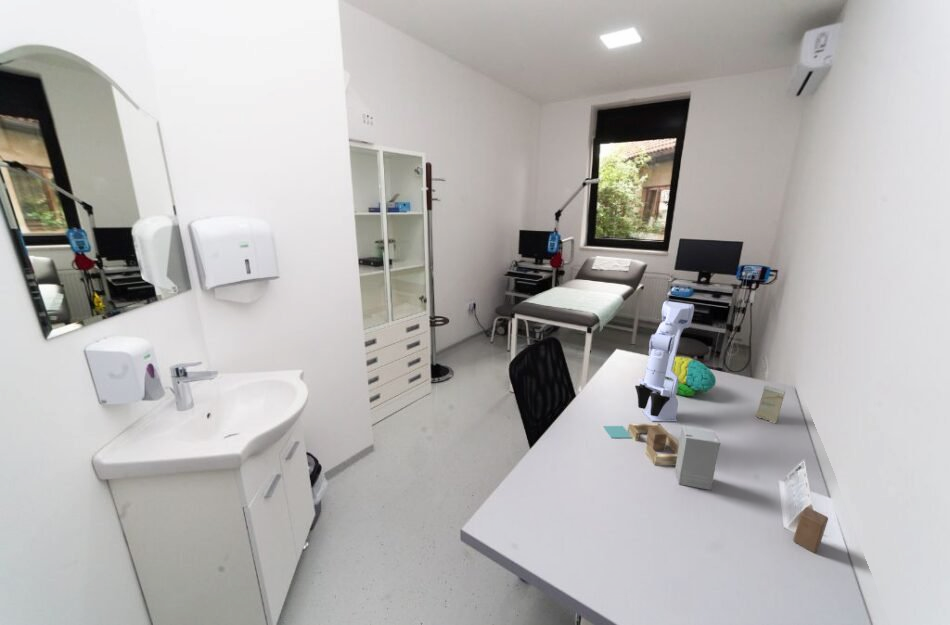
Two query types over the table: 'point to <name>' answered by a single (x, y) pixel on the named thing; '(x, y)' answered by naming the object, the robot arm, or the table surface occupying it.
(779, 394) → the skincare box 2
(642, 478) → the table surface
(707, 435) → the skincare box
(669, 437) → the open wooden frame
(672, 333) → the robot arm
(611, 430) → the mat
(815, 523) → the wooden block
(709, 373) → the brain model
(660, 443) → the walnut block
